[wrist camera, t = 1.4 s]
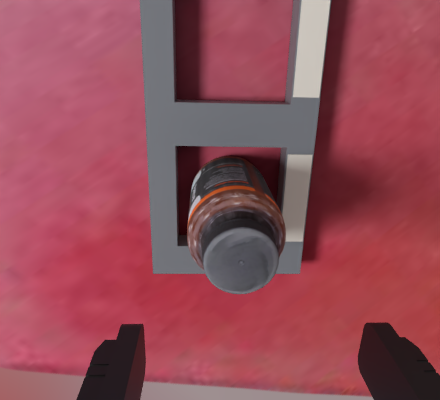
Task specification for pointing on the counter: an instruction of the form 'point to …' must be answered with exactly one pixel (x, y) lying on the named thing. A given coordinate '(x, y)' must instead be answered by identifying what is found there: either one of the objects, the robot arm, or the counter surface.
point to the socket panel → (230, 129)
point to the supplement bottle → (234, 225)
